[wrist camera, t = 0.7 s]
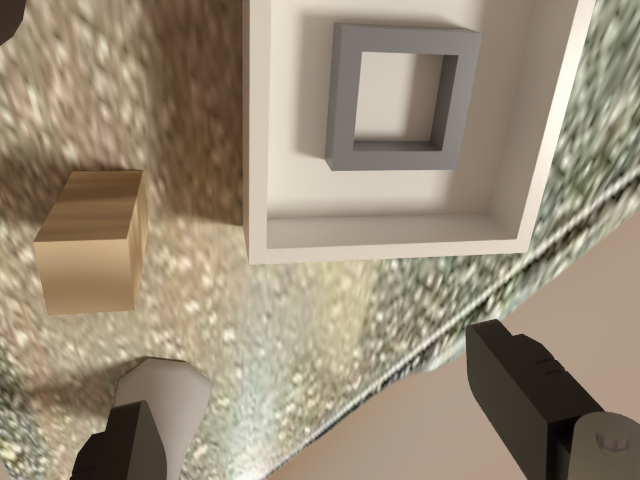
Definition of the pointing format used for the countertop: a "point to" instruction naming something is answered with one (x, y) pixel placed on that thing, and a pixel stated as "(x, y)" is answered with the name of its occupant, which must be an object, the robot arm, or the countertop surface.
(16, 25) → the bottle
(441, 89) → the box
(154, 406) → the flask
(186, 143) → the countertop surface
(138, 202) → the plug
